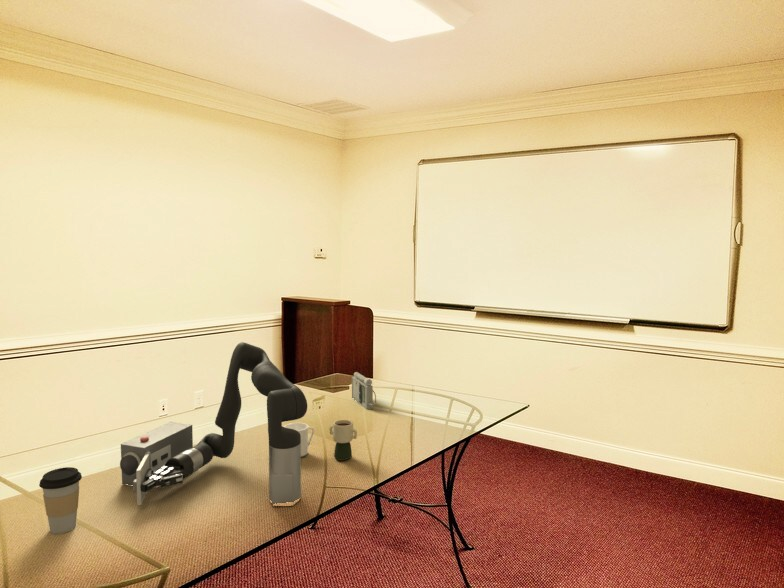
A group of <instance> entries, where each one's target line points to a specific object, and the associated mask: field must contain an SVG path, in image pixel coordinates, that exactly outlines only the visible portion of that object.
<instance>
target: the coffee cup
mask: <svg viewBox="0 0 784 588" xmlns="http://www.w3.org/2000/svg"><path fill="white" fill-rule="evenodd" d="M82 479H83V476H82V472H81V471H79V469H78V468H76V467H70V466H69V467H67V466H66V467H60V468H55V469H52V470H50V471H47V472H46V473H44V474H43V476H42V478H41V479H40V481H39V484H38V486H39V488H41V489H42V493H43V494H42V496H43V503H44V507H45V514H46V516H47V522H48V527H49V532H50V533H51V534H53V535H60V534H65V533H68V532H70V531H73V530H74V529H75V528H76V526H77V516H78V515H77V514H78V508H79V500H80V499H79V497H80V496H79V495H80V481H81V480H82Z"/></svg>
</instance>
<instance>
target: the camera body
mask: <svg viewBox="0 0 784 588" xmlns="http://www.w3.org/2000/svg"><path fill="white" fill-rule="evenodd" d="M193 433H194V432H193V424H189V423H181V422H175V421H170V422H167V423H165V424H163V425H160V426H158V427H156V428H154V429H151V430H149V431H147V432H144V433H142V434H140V435H138V436H136V437H133V438H132V439H129V440H127V441H125V442H122V443H121V444H120V458H121V459H120V462H119V467H120V469H121V484H128V485H133V482H134V480H136V470H137V468H138V467H139V465H140V463H141V461H142V459H143V458H144V456H145V452H151V468H152V470H157V469H158V468H160V467H163V466H165V464H166V462H167V461H168V460H169V459H170V458H172V457H174V456H176V455H178V454H180V453H182V452H183V451H185V450H188V449H191V448H192V447H194V442H193V440H194V439H193V438H194V437H193ZM128 485H127V486H128Z"/></svg>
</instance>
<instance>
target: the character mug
mask: <svg viewBox="0 0 784 588" xmlns="http://www.w3.org/2000/svg"><path fill="white" fill-rule="evenodd" d="M329 435H332V439H333V442H334V443H335V445H334V446H335V447H334V452H333V453H334V455H333V457H334V459H336V460H339V461H344V460H349V459H350V458H352V457H353V455H352V454H353V452H352V445H351V442H352V441H353V439H354V440H357V438H358V431H357V429H354V422H353V421H352V420H349V419H338V420H337V419H336V420H335V421H333V425H330V426H329Z"/></svg>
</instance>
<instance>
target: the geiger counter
mask: <svg viewBox="0 0 784 588" xmlns="http://www.w3.org/2000/svg"><path fill="white" fill-rule="evenodd" d="M372 384H373V381H372V380H371V379H370V378H369V377H366V376H364V375H362V374H361V373H359V372H358V371H355V372H354V373H353V376H351V399H352V398H354V399H355V400H356V401H357V402H358V404H359V405H360V406H361V407H363V409H365V410H372V409H373V406H375V405H376V403H377V395H376V392H375V390H374V389H373V385H372ZM373 394H374V400H373ZM355 400H354V401H355ZM356 401H355V402H356ZM373 401H374V403H373ZM357 402H356V403H357Z"/></svg>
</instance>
